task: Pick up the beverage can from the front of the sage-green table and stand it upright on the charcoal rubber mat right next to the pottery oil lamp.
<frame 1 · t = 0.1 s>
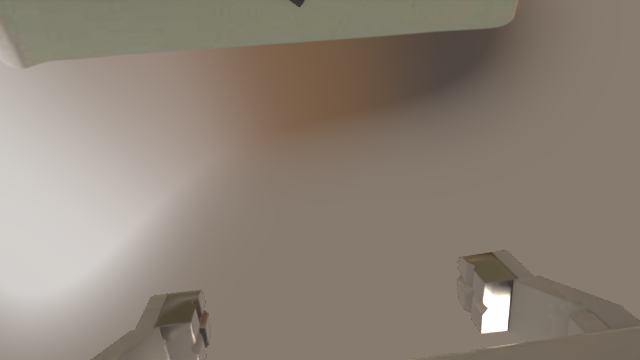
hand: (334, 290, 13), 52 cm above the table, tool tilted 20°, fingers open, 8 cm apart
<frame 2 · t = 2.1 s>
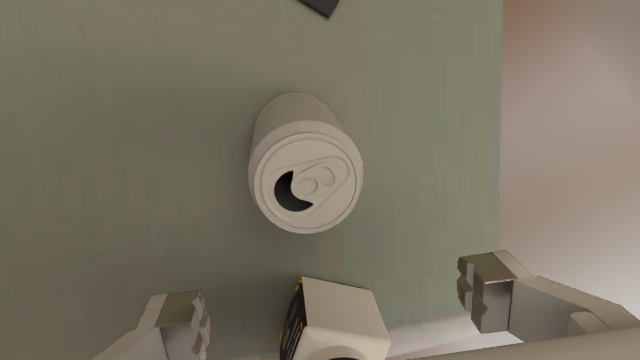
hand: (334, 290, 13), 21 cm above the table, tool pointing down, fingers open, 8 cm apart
medicine bottle: (324, 311, 39), on the table
beverage can: (295, 130, 33), on the table
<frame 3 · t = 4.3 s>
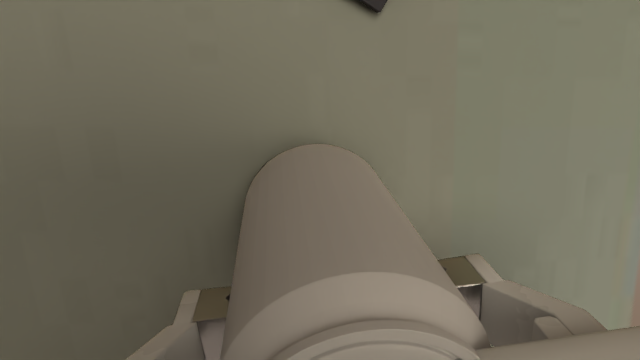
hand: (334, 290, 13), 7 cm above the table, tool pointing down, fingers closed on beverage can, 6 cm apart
beverage can: (314, 203, 20), on the table, touching gripper
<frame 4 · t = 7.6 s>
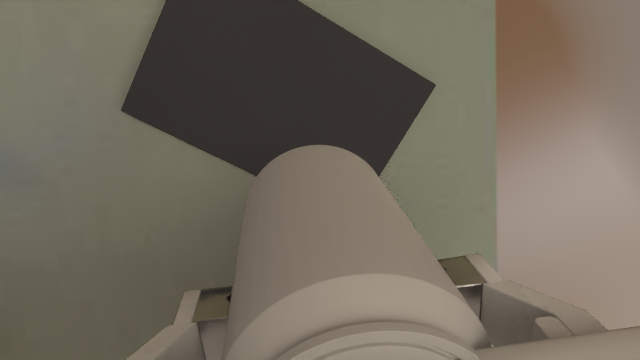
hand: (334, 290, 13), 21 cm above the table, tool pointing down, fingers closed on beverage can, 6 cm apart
beverage can: (315, 203, 20), point 14 cm above the table, touching gripper
mat: (282, 96, 32), on the table
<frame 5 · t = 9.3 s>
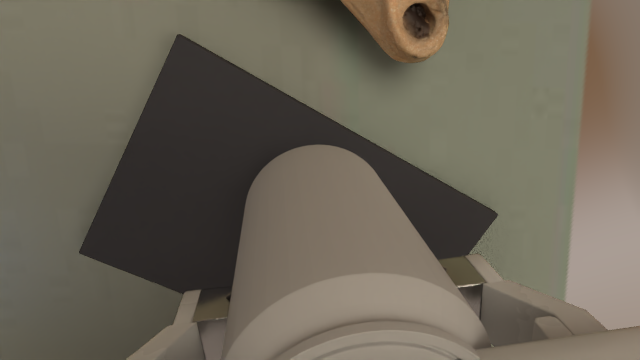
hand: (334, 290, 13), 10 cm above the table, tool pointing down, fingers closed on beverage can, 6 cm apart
beverage can: (315, 203, 20), point 4 cm above the table, touching gripper
mat: (296, 229, 24), on the table
when the fingers open (7 cm above the table, at t = 10.8 s): beverage can stays where it is, resting on mat.
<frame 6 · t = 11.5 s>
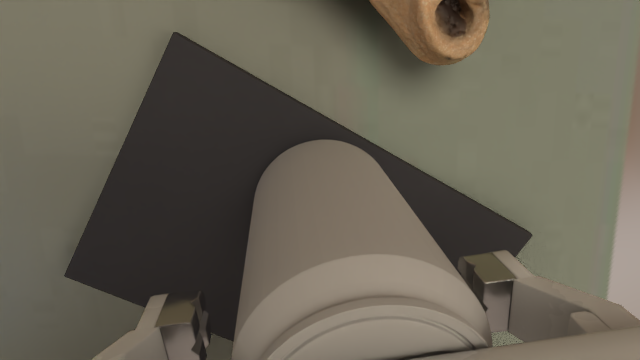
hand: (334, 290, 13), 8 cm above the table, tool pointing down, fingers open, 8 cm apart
beverage can: (321, 197, 20), resting on mat
mat: (307, 250, 21), on the table
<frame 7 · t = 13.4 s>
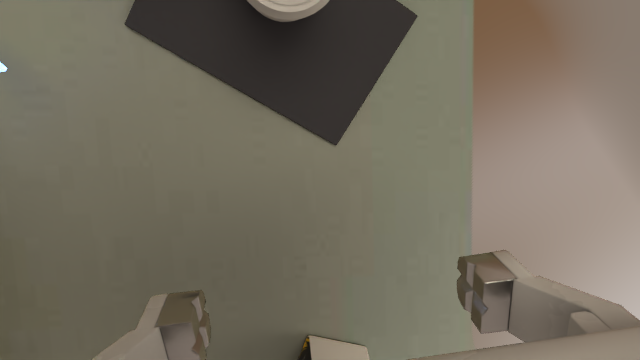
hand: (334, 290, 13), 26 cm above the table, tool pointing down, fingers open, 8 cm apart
mat: (275, 20, 34), on the table
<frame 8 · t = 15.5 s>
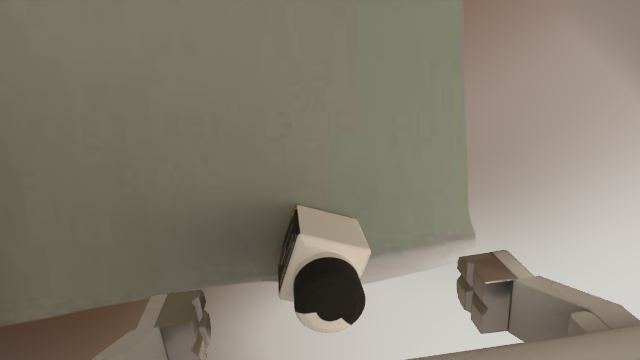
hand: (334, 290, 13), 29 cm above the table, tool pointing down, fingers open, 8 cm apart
medicine bottle: (317, 238, 46), on the table
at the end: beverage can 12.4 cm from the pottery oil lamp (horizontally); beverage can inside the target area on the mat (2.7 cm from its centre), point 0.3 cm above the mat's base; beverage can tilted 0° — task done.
